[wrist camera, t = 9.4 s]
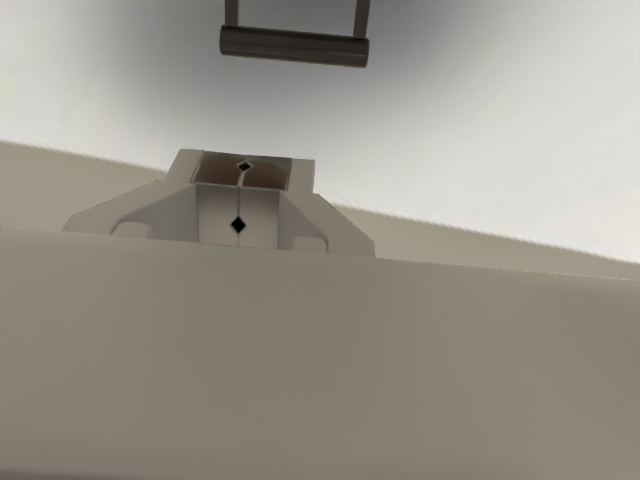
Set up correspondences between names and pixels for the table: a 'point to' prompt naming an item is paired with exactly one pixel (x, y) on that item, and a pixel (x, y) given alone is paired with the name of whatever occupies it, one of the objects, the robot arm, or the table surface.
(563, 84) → the table surface
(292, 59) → the drawer
